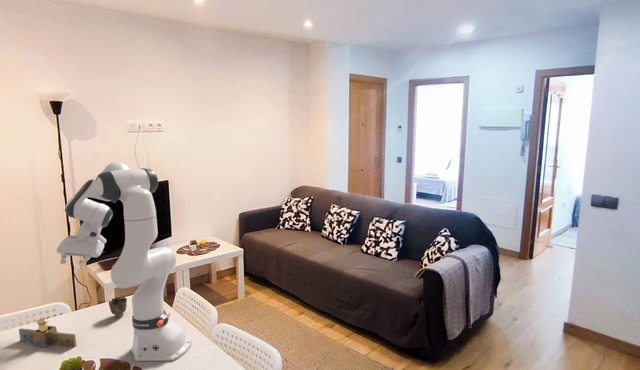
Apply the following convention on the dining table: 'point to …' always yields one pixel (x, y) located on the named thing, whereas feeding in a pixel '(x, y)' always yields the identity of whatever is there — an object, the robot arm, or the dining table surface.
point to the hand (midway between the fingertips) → (71, 264)
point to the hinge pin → (43, 325)
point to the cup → (118, 306)
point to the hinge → (47, 337)
